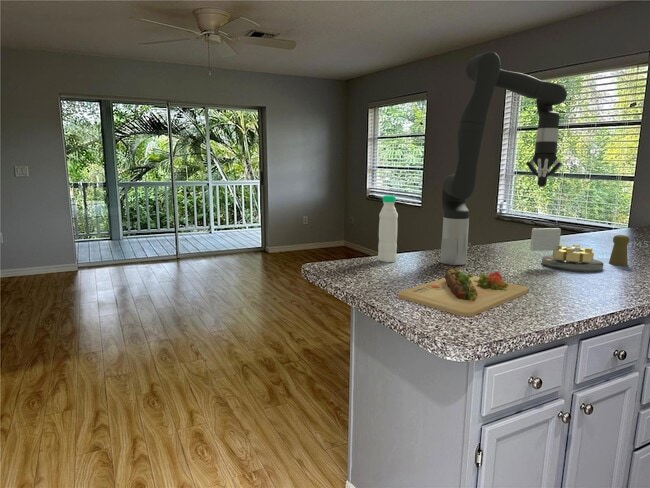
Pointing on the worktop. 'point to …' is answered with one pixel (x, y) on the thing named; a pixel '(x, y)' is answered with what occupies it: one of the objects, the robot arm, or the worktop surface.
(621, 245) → the cork
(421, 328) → the worktop surface
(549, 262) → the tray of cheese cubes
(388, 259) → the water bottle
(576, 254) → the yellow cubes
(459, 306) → the cutting board
